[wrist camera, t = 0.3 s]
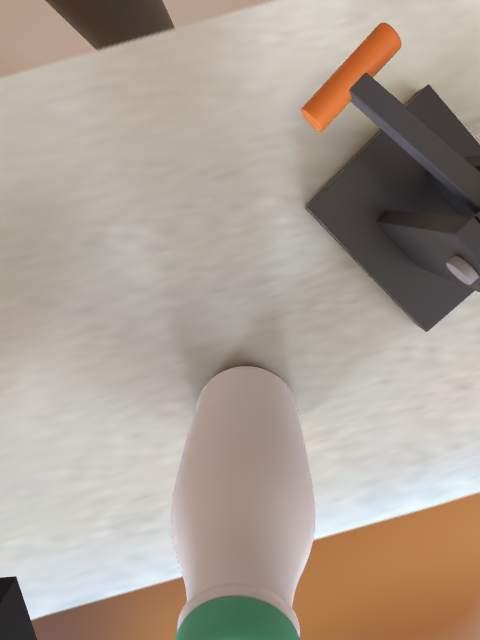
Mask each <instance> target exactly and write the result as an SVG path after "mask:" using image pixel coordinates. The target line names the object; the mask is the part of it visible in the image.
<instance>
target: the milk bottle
mask: <svg viewBox="0 0 480 640" xmlns="http://www.w3.org/2000/svg"><path fill="white" fill-rule="evenodd" d="M170 525H171V536H172V542H173V547H174V551H175V554H176V558H177V561H178V564H179V566H180V569H181V572H182V575H183V578H184V582H185V587H186V595H187V603H186V604H185V606H184V607H183V609H182V611H181V613H180V616H179V619H178V624H177V634H176V637H175V640H300V638H299V636H300V627H299V622H298V619H297V616H296V614H295V612H294V610H293V609H292V603H293V598H294V593H295V589H296V586H297V583H298V581H299V578H300V576H301V574H302V571H303V569H304V567H305V565H306V562H307V559H308V557H309V554H310V551H311V546H312V542H313V537H314V530H315V502H314V494H313V487H312V480H311V475H310V470H309V464H308V459H307V454H306V449H305V444H304V439H303V434H302V429H301V424H300V420H299V415H298V410H297V406H296V403H295V399H294V396H293V394H292V392H291V390H290V389H289V387H288V386H287V385H286V384H285V382H284V381H283V380H281V379H280V378H279V377H278V376H276V375H275V374H273V373H271V372H269V371H267V370H265V369H262V368H258V367H252V366H240V367H234V368H230V369H227V370H225V371H223V372H221V373H219V374H217V375H216V376H214V377H213V378H212V379H211V380H210V381H209V382H208V383H207V384H206V385H205V387H204V388H203V390H202V391H201V393H200V396H199V398H198V401H197V404H196V407H195V411H194V414H193V418H192V421H191V425H190V428H189V432H188V435H187V439H186V442H185V446H184V450H183V454H182V457H181V461H180V465H179V469H178V472H177V476H176V481H175V486H174V490H173V495H172V501H171V513H170Z"/></svg>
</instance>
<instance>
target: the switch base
mask: <svg viewBox="0 0 480 640" xmlns="http://www.w3.org/2000/svg"><path fill="white" fill-rule="evenodd" d="M405 107H406V108H408V109H409V110H410V111H411V112H412V113H413V114H414V115H416V116H417V117H418V118H419V119H420V120H421V121H422V122H424V123H425V124H426V125H427V126H428V127H429V128H430V129H432V130H433V131H434V132H435V133H436V134H437V135H438V136H440V137H441V138H442V139H443V140H444V141H445V142H446V143H448V144H449V145H450V146H451V147H452V148H453V149H454V150H456V151H457V152H458V153H459V154H460V155H461V156H462V157H463V158H465V159H466V160H467V161H468V162H469V163H470V164H471V165H473V166H474V167H475V168H476V169H477V170H478V171H479V172H480V145H479V144H478V142H477V141H476V140H475V139H474V138H473V136H472V135H471V134H470V133H469V132H468V130H467V129H466V128H465V127H464V126H463V125H462V123H461V122H460V121H459V120H458V119H457V117H456V116H455V115H454V114H453V113H452V111H451V110H450V109H449V108H448V107H447V105H446V104H445V103H444V102H443V101H442V100H441V98H440V97H439V96H438V95H437V94H436V92H435V91H434V90H433V89H432V88H431V86H430V85H427V86H425V87H424V88H422V89H421V90H419V91H418V92H417V93H416V94H415V95H414V96H413V97H412V99H411V100H410V101H409V102H408V103H407V104H406V105H405ZM305 209H306V210H307V211H308V212H309V213H310V214H311V215H312V216H313V217H314V218H315V219H316V220H317V221H318V222H319V223H320V224H321V225H322V226H323V227H324V228H325V229H326V230H327V231H328V232H329V234H330V235H331V236H332V237H333V238H334V239H335V240H336V241H337V242H338V243H339V244H340V245H341V246H342V247H343V248H344V249H345V250H346V251H347V252H348V253H349V254H350V255H351V256H352V257H353V258H354V260H355V261H356V262H357V263H358V264H359V265H360V266H361V267H362V268H363V269H364V270H365V271H366V272H367V273H368V274H369V275H370V276H371V277H372V278H373V279H374V280H375V281H376V282H377V283H378V284H379V286H380V287H381V288H382V289H383V290H384V291H385V292H386V293H387V294H388V295H389V296H390V297H391V298H392V299H393V300H394V301H395V302H396V303H397V304H398V305H399V306H400V307H401V308H402V309H403V310H404V312H405V313H406V314H407V315H408V316H409V317H410V318H411V319H412V320H413V321H414V322H415V323H416V324H417V325H418V326H419V327H420V328H422V329H423V330H424V331H426V332H427V331H429V330H430V329H431V328H432V327H433V326H434V325H435V324H437V323H438V322H439V321H440V320H441V319H442V318H444V317H445V316H446V315H447V314H448V313H449V312H451V311H452V310H453V309H454V308H455V307H456V306H458V305H459V304H460V303H461V302H462V301H463V300H464V299H466V298H467V297H468V296H469V295H470V294H471V293H473V292H474V291H478V292H480V223H479V222H478V221H477V219H476V218H475V217H474V215H476V214H477V213H474V212H473V211H472V210H471V209H470V208H469V207H468V206H466V205H465V204H464V203H463V202H462V201H461V200H460V199H459V198H458V197H456V196H455V195H454V194H453V193H452V192H451V191H450V190H449V189H448V188H446V187H445V186H444V185H443V184H442V183H441V182H440V181H439V180H438V179H436V178H435V177H434V176H433V175H432V174H431V173H430V172H429V171H428V170H426V169H425V168H424V167H423V166H422V165H421V164H420V163H419V162H418V161H416V160H415V159H414V158H413V157H412V156H411V155H410V154H409V153H408V152H406V151H405V150H404V149H403V148H402V147H401V146H400V145H399V144H398V143H396V142H395V141H394V140H393V139H392V138H391V137H390V136H389V135H388V134H386V133H385V132H384V131H383V130H382V129H381V130H380V131H379V132H378V133H377V134H376V135H375V136H374V137H373V138H372V139H371V140H370V141H369V142H368V143H367V144H366V145H365V146H364V147H363V148H362V149H361V150H360V151H359V152H358V153H357V154H356V156H355V157H354V158H353V159H352V160H351V161H350V162H349V163H348V164H347V165H346V166H345V167H344V168H343V169H342V170H341V171H340V172H339V173H338V174H337V175H336V176H335V177H334V178H333V179H332V180H331V181H330V182H329V183H328V184H327V185H326V186H325V187H324V188H323V189H322V190H321V191H320V192H319V193H318V194H317V195H316V196H315V197H314V198H313V199H312V200H311V201H310V202H309V203H308V204H307V205H306V206H305Z"/></svg>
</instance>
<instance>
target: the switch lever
mask: <svg viewBox="0 0 480 640" xmlns="http://www.w3.org/2000/svg"><path fill="white" fill-rule="evenodd" d="M400 47H401V40H400V38H399V36H398V34H397V33H396V31H395V30H394V29H393V28H392V27H391V26H390V25H388V24H386V23H380V24H379V25H378V26H377V27H376V28H375V29H374V31H373V32H372V33H371V34H370V35H369V36H368V37H367V38H366V39H365V40H364V41H363V42H362V44H361V45H360V46H359V47H358V48H357V49H356V50H355V51H354V52H353V53H352V54H351V55H350V57H349V58H348V59H347V60H346V61H345V62H344V63H343V64H342V65H341V66H340V67H339V69H338V70H337V71H336V72H335V73H334V74H333V75H332V76H331V77H330V78H329V79H328V80H327V82H326V83H325V84H324V85H323V86H322V87H321V88H320V89H319V90H318V91H317V92H316V94H315V95H314V96H313V97H312V98H311V99H310V100H309V101H308V102H307V103H306V104H305V105H304V107H303V108H302V109H301V112H302V114H303V116H304V117H305V119H306V120H307V121H308V122H309V123H310V125H311V126H313V127H314V128H315V129H316V130H318V131H320V132H321V131H323V129H324V128H325V127H326V126H327V125H328V124H329V123H330V122H331V121H332V120H333V119H334V118H335V117H336V116H337V115H338V114H339V113H340V112H341V110H342V109H343V108H344V107H345V106H346V105H347V104H348V103H349V102H350V101H351V102H352V103H353V104H354V105H355V106H356V107H358V108H359V109H360V110H361V111H362V112H363V113H364V114H365V115H366V116H368V117H369V118H370V119H371V120H372V121H373V122H374V123H375V124H376V125H378V126H379V127H380V128H381V129H382V130H383V131H384V132H385V133H386V134H388V135H389V136H390V137H391V138H392V139H393V140H394V141H395V142H396V143H398V144H399V145H400V146H401V147H402V148H403V149H404V150H405V151H406V152H408V153H409V154H410V155H411V156H412V157H413V158H414V159H415V160H416V161H418V162H419V163H420V164H421V165H422V166H423V167H424V168H425V169H426V170H428V171H429V172H430V173H431V174H432V175H433V176H434V177H435V178H436V179H438V180H439V181H440V182H441V183H442V184H443V185H444V186H445V187H446V188H448V189H449V190H450V191H451V192H452V193H453V194H454V195H455V196H456V197H458V198H459V199H460V200H461V201H462V202H463V203H464V204H465V205H466V206H468V207H469V208H470V209H471V210H472V211H473V212H474V213H477V214H476V215H474V217H475V218H476V219H477V221H478V222H479V223H480V172H479V171H478V170H477V169H476V168H475V167H474V166H473V165H471V164H470V163H469V162H468V161H467V160H466V159H465V158H463V157H462V156H461V155H460V154H459V153H458V152H457V151H456V150H454V149H453V148H452V147H451V146H450V145H449V144H448V143H446V142H445V141H444V140H443V139H442V138H441V137H440V136H438V135H437V134H436V133H435V132H434V131H433V130H432V129H430V128H429V127H428V126H427V125H426V124H425V123H424V122H422V121H421V120H420V119H419V118H418V117H417V116H416V115H414V114H413V113H412V112H411V111H410V110H409V109H408V108H406V107H405V106H404V105H403V104H402V103H401V102H400V101H398V100H397V99H396V98H395V97H394V96H393V95H392V94H390V93H389V92H388V91H387V90H386V89H385V88H384V87H382V86H381V85H380V84H379V83H378V82H377V81H376V80H374V79H373V77H374V76H375V75H376V73H377V72H378V71H379V70H380V69H381V68H382V67H383V66H384V65H385V64H386V63H387V62H388V61H389V60H390V59H391V58H392V57H393V56H394V54H395V53H396V52H397V51H398V50H399V49H400Z"/></svg>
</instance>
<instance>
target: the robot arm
mask: <svg viewBox="0 0 480 640" xmlns="http://www.w3.org/2000/svg"><path fill="white" fill-rule="evenodd" d="M0 640H37V639H36V635H35V632H34V629H33V626H32V623H31V620H30V617H29V614H28V611H27V608H26V605H25V602H24V599H23V596H22V593H21V590H20V587H19V584H18V581H17V578H16V577H4V578H0Z"/></svg>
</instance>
